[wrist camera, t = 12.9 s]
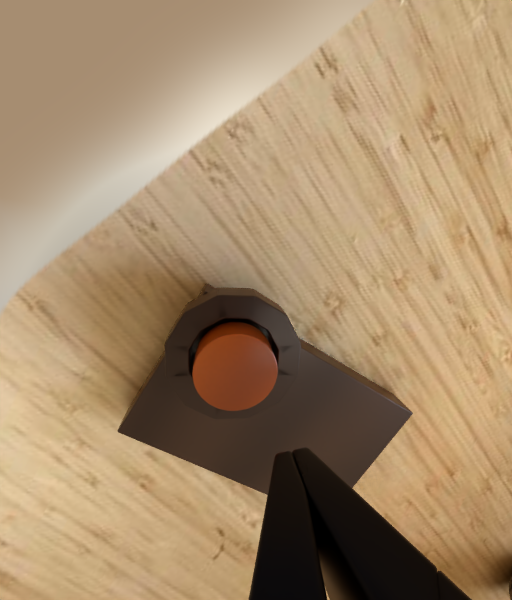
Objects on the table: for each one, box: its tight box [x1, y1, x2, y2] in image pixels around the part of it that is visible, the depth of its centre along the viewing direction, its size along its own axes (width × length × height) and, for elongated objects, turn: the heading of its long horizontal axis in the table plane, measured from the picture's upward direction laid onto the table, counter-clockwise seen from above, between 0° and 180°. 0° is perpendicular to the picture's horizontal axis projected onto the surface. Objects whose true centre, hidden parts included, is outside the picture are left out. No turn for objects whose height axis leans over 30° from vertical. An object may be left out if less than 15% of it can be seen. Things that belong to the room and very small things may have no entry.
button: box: [192, 322, 278, 411], centre depth 14 cm, size 4×4×2 cm
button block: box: [118, 284, 413, 495], centre depth 18 cm, size 16×11×4 cm
